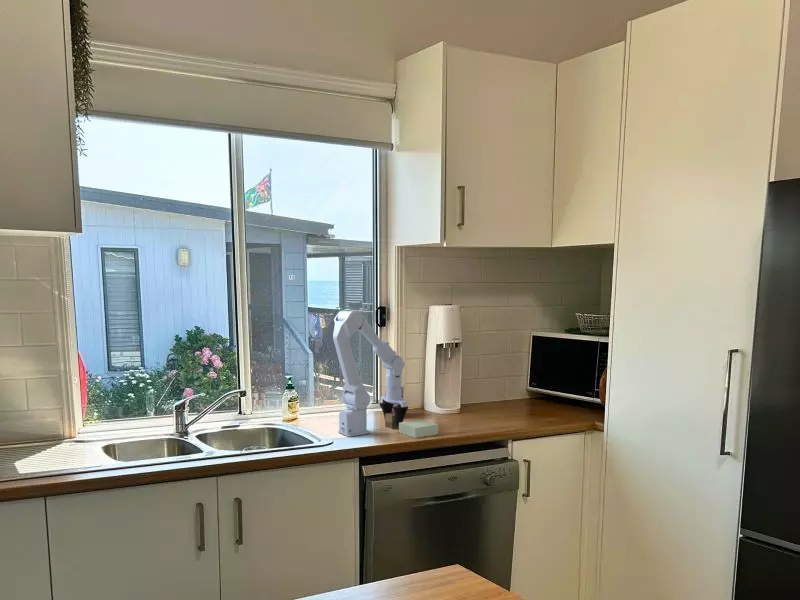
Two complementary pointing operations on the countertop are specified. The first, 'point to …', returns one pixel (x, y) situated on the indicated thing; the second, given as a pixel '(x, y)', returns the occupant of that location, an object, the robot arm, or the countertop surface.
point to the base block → (418, 428)
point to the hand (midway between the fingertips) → (393, 423)
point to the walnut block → (390, 420)
